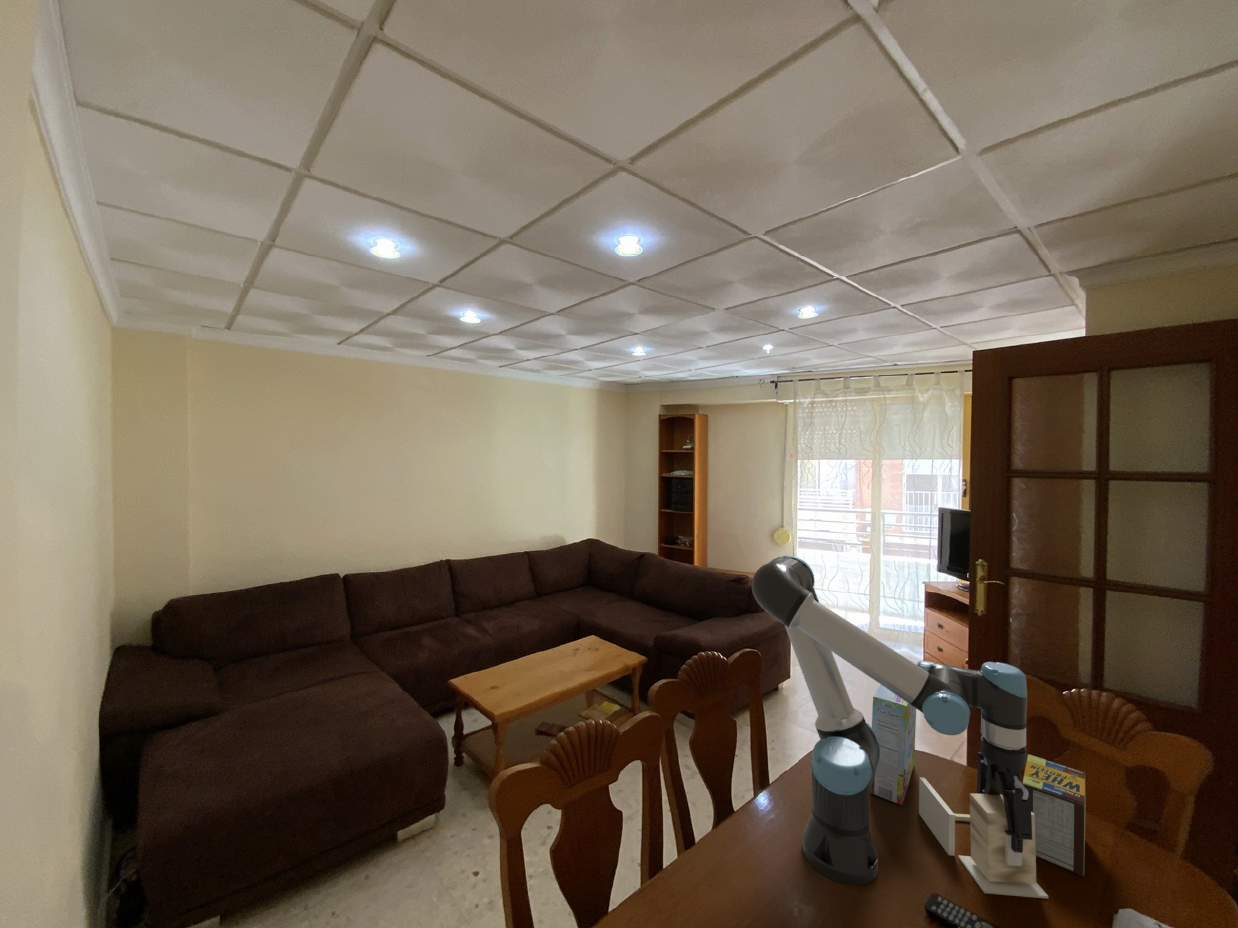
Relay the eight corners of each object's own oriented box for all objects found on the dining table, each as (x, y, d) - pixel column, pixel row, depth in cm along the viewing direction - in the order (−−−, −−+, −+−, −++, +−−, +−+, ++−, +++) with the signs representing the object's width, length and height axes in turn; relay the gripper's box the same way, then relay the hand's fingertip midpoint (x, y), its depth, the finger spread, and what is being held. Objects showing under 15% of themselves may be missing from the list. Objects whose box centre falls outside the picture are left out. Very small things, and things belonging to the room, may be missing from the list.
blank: (988, 880, 102) (987, 812, 101) (971, 857, 108) (969, 793, 107) (1036, 883, 101) (1034, 814, 101) (1015, 859, 107) (1014, 794, 107)
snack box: (906, 808, 125) (907, 706, 124) (867, 794, 130) (869, 696, 130) (917, 766, 142) (918, 676, 142) (883, 755, 147) (884, 668, 147)
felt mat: (984, 892, 100) (984, 890, 100) (958, 857, 109) (958, 855, 109) (1048, 898, 99) (1048, 895, 99) (1016, 862, 108) (1016, 859, 108)
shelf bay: (948, 854, 110) (949, 814, 110) (918, 813, 123) (919, 777, 123) (1023, 861, 108) (1024, 819, 108) (985, 818, 121) (985, 781, 121)
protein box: (1084, 837, 115) (1085, 771, 115) (1084, 878, 104) (1085, 804, 104) (1026, 815, 123) (1027, 752, 123) (1020, 850, 111) (1021, 781, 111)
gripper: (1058, 769, 94) (1057, 891, 94) (992, 718, 113) (991, 819, 113) (1015, 767, 95) (1014, 888, 95) (957, 716, 114) (956, 817, 114)
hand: (1002, 850), depth 104 cm, fingers closed on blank, 6 cm apart
